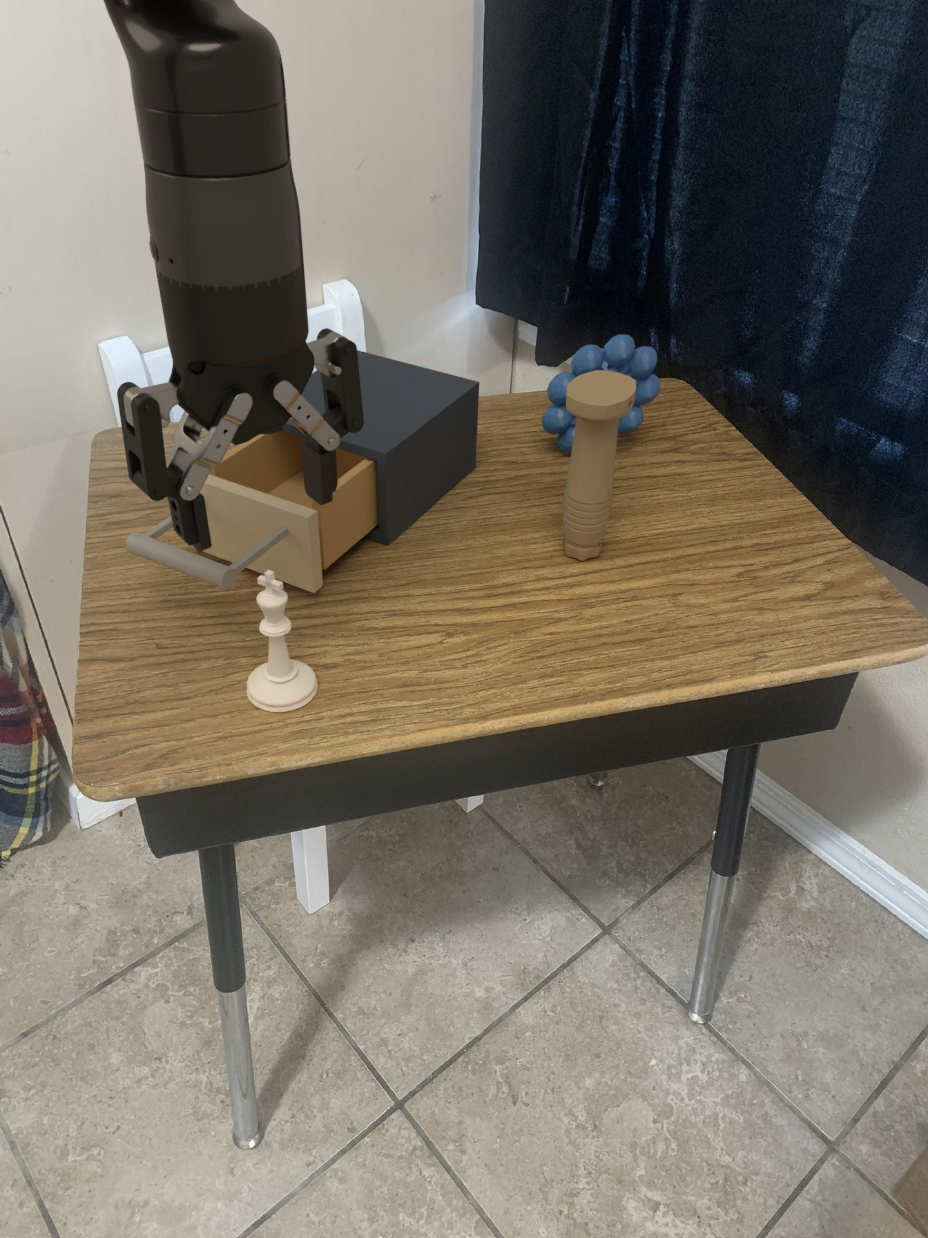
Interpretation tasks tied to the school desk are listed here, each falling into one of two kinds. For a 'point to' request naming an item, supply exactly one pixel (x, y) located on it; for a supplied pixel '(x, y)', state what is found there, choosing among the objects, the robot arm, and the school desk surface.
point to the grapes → (613, 358)
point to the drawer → (272, 516)
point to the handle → (593, 457)
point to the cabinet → (408, 435)
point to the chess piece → (278, 657)
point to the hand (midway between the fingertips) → (261, 520)
